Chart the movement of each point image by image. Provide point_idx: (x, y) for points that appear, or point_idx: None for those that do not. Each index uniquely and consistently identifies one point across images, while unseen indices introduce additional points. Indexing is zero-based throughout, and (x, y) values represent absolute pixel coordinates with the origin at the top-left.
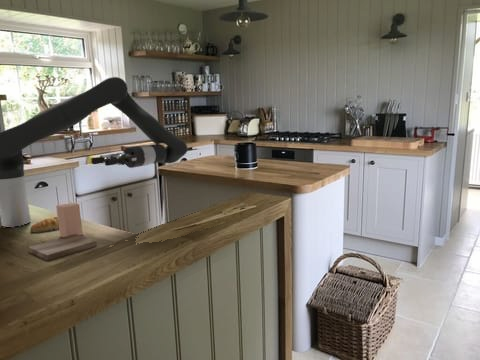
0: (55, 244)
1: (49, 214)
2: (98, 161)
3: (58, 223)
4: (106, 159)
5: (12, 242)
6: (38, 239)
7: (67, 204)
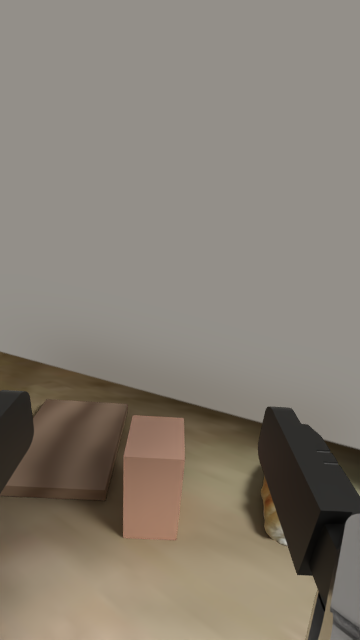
0: (83, 428)
1: None
2: (282, 492)
3: (270, 519)
4: (2, 393)
5: (221, 420)
6: (196, 451)
7: (161, 437)
